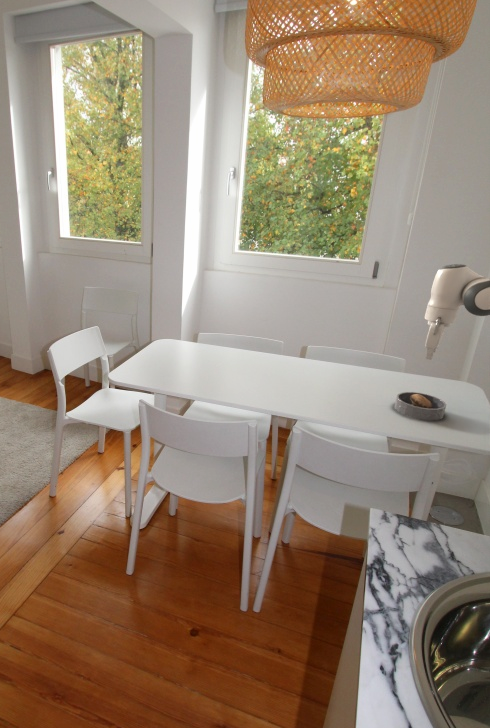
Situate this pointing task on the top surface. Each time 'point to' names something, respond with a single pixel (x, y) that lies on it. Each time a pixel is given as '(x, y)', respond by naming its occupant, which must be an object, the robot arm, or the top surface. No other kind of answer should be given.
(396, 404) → the pan
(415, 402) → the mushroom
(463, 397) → the top surface
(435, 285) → the robot arm
